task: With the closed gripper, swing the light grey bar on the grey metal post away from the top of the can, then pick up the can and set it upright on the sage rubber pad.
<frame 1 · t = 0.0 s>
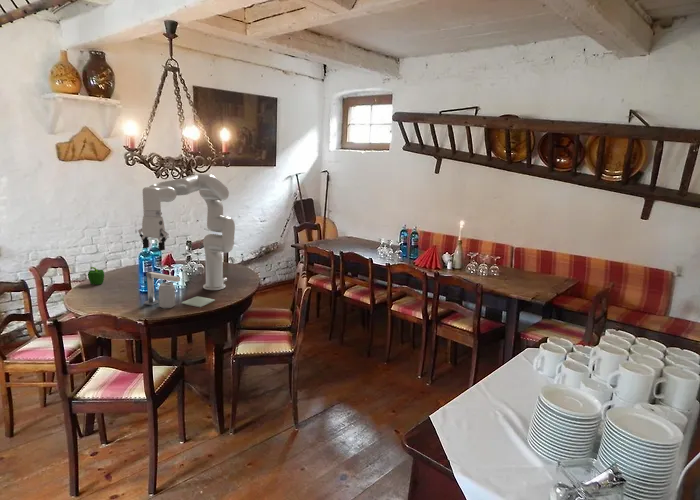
hand: (153, 249, 216), 31 cm above the table, tool pointing down, fingers open, 9 cm apart
can: (167, 306, 229), on the table
clip post: (151, 303, 232), on the table
pad: (198, 302, 238), on the table
bell pepper: (97, 284, 260), on the table
light grey bar: (162, 276, 226), point 16 cm above the table, hinge at 0.0°
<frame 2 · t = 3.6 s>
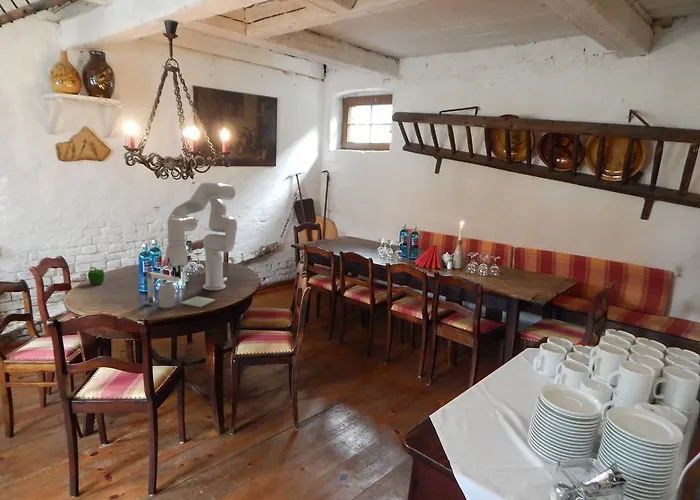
hand: (177, 278, 226), 15 cm above the table, tool pointing down, fingers closed
light grey bar: (162, 276, 226), point 16 cm above the table, hinge at -1.2°, touching gripper
everything else where it was.
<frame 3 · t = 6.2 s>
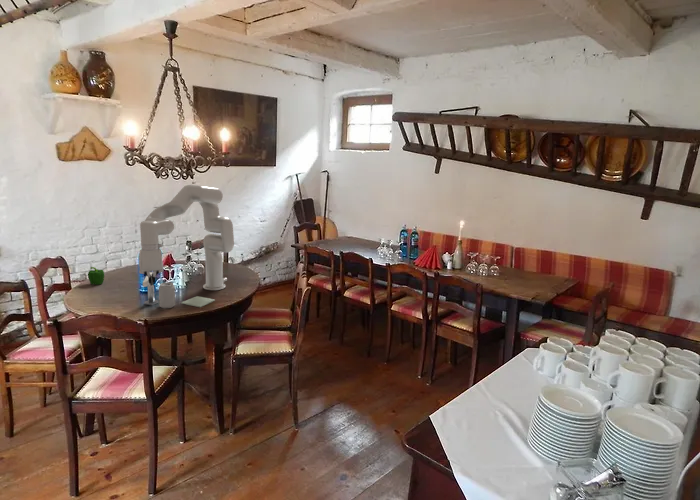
hand: (152, 284, 216), 15 cm above the table, tool pointing down, fingers closed
light grey bar: (147, 278, 222), point 16 cm above the table, hinge at -52.9°, touching gripper
everything else where it was.
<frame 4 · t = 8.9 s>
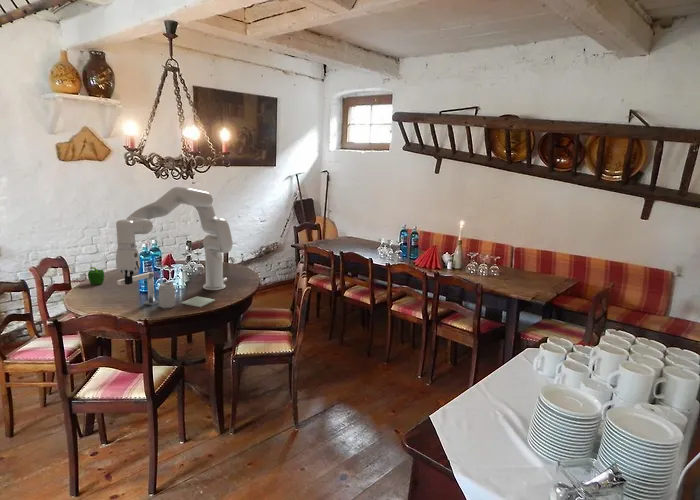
hand: (128, 283, 215), 15 cm above the table, tool pointing down, fingers closed
light grey bar: (136, 277, 222), point 16 cm above the table, hinge at -95.0°
everything else where it was.
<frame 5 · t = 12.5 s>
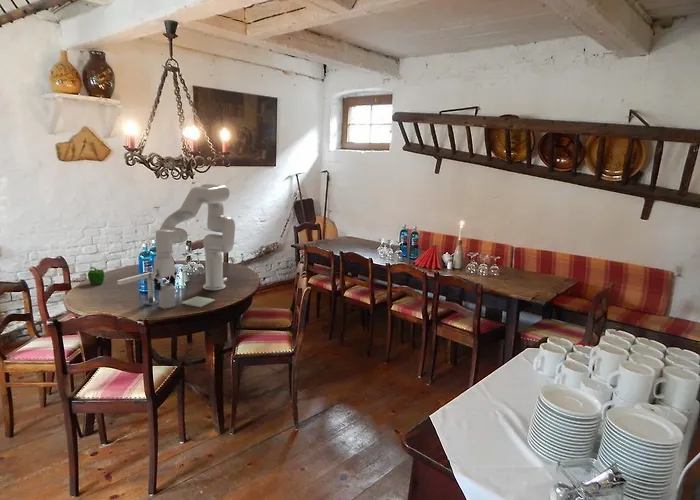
hand: (165, 287, 226), 10 cm above the table, tool pointing down, fingers open, 9 cm apart
can: (167, 307, 229), on the table, touching gripper
everything else where it was.
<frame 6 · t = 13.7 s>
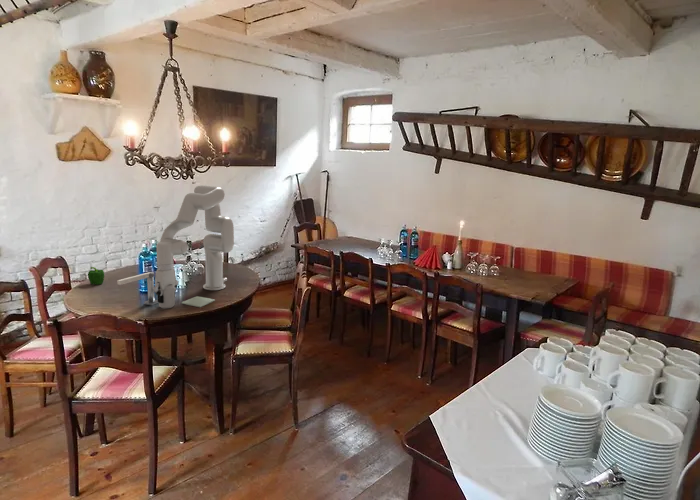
hand: (166, 300, 228), 3 cm above the table, tool pointing down, fingers closed on can, 7 cm apart
can: (167, 306, 229), on the table, touching gripper
everything else where it was.
when the fingers open (5 cm above the table, at t = 20.8 s): can drops 1 cm, resting on pad.
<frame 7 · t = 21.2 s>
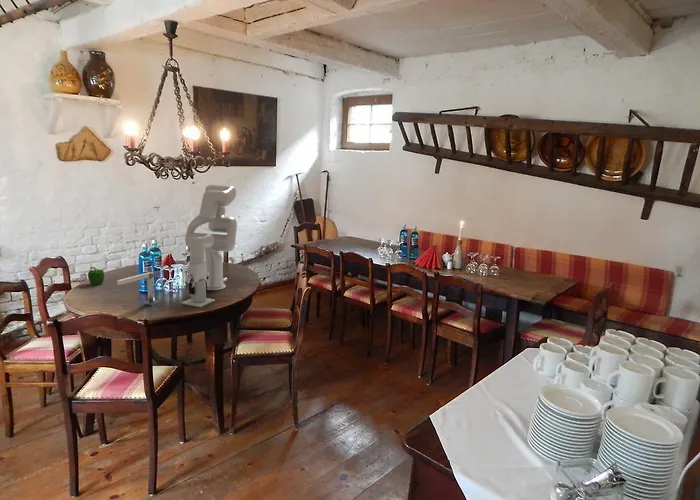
hand: (198, 291, 237), 6 cm above the table, tool pointing down, fingers open, 9 cm apart
can: (198, 301, 238), resting on pad
everything else where it was.
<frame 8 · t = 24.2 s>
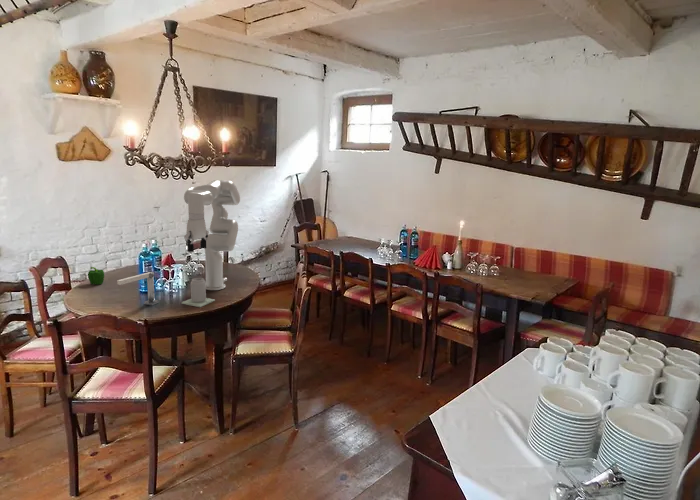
hand: (197, 249, 232), 28 cm above the table, tool pointing down, fingers open, 9 cm apart
nothing on the table moved.
at the end: light grey bar at -95° (first picture: +0°); can inside the target area on the pad (0.0 cm from its centre), point 0.4 cm above the pad's base; can tilted 0° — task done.
